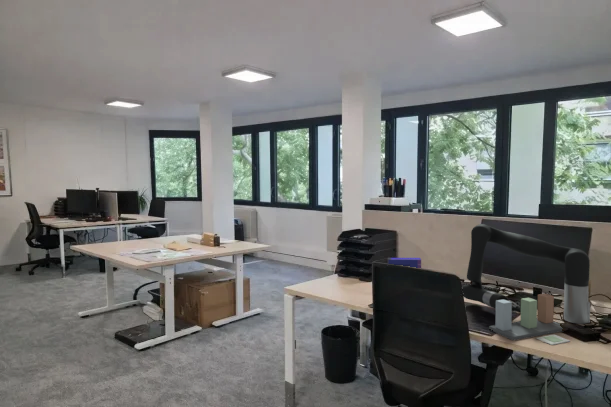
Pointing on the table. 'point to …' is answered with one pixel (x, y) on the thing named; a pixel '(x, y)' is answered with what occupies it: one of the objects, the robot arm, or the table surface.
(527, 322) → the sage block
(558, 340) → the card
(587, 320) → the robot arm
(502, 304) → the greyblue block
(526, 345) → the table surface
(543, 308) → the terracotta block
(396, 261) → the cereal box
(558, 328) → the board
